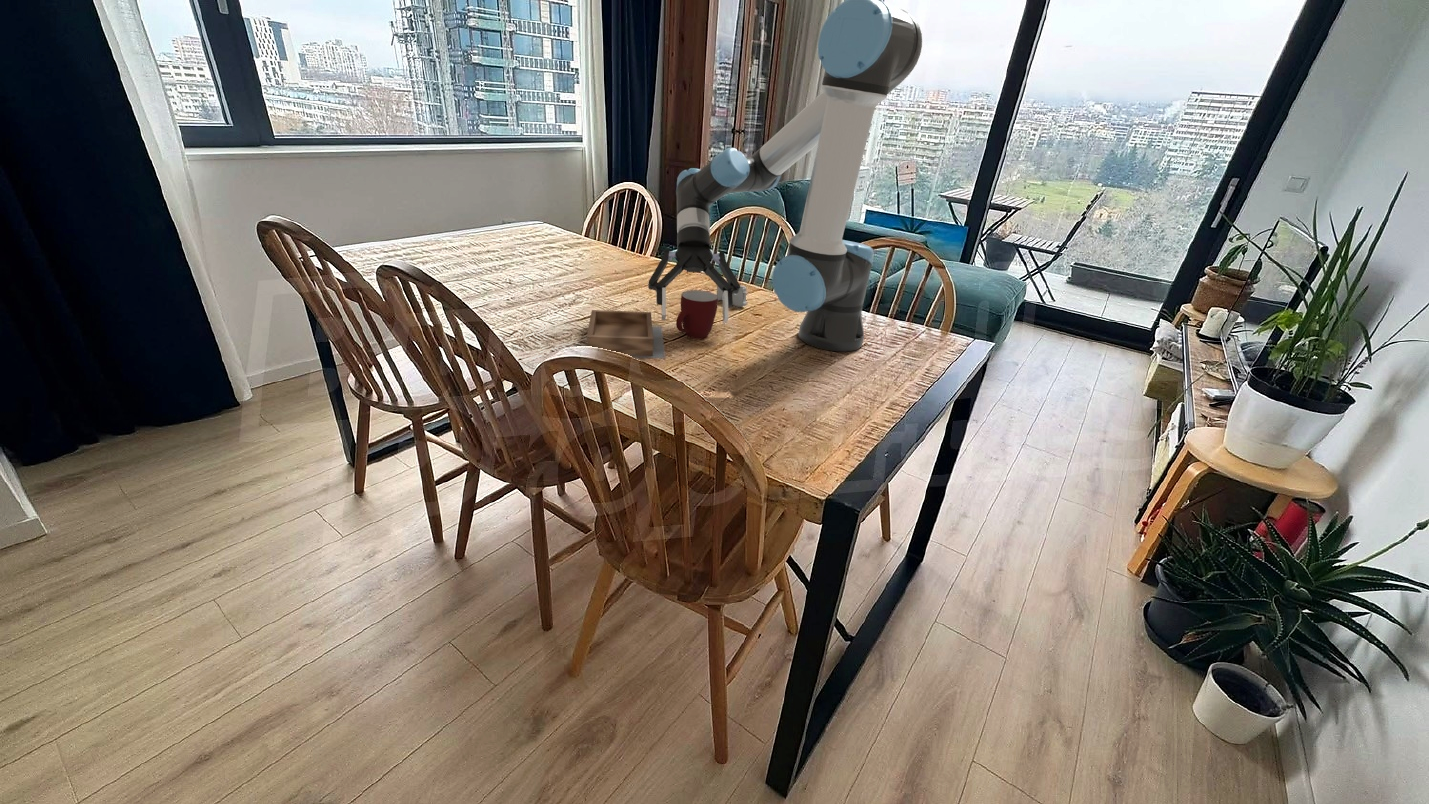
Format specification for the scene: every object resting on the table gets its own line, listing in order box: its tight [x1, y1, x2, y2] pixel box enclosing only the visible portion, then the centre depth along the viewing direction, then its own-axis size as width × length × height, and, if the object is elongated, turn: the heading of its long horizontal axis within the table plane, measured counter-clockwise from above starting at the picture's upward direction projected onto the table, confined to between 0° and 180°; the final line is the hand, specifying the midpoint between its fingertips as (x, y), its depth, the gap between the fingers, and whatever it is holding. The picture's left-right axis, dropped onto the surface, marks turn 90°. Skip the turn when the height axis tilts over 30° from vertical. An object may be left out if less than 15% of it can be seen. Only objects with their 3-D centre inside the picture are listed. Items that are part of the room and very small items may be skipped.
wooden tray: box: [586, 309, 653, 356], centre depth 121 cm, size 13×16×4 cm
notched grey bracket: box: [716, 284, 748, 308], centre depth 152 cm, size 6×1×10 cm
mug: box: [675, 289, 719, 340], centre depth 126 cm, size 10×8×10 cm
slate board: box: [585, 325, 666, 360], centre depth 122 cm, size 16×18×1 cm
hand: (695, 319), depth 124 cm, fingers open, 13 cm apart
